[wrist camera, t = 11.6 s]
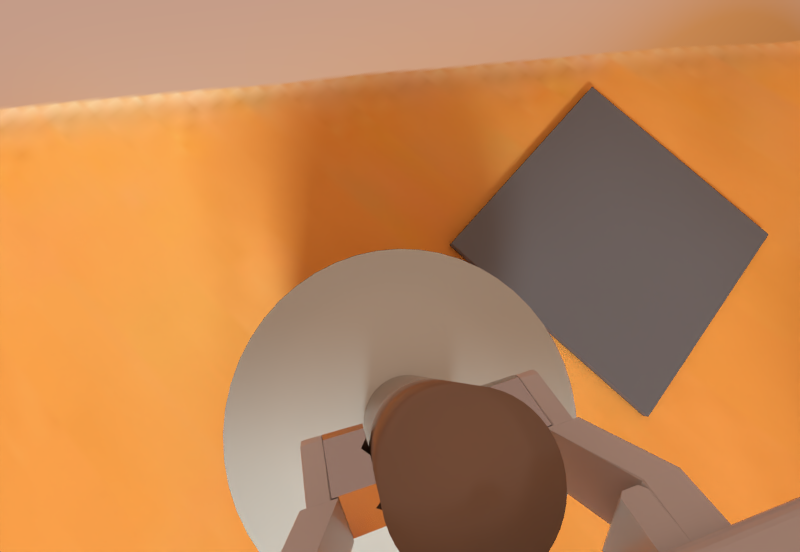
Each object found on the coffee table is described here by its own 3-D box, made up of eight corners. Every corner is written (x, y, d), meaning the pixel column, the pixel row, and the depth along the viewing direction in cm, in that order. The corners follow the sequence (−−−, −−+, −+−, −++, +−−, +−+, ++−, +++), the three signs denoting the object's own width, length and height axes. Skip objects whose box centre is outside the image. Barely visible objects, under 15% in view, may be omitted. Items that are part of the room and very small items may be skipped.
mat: (762, 236, 27) (768, 234, 26) (643, 415, 23) (648, 416, 23) (588, 90, 27) (591, 86, 27) (449, 245, 24) (451, 243, 24)
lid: (622, 400, 17) (931, 440, 8) (419, 692, 14) (541, 1260, 5) (391, 195, 17) (435, 18, 8) (154, 435, 14) (-148, 543, 6)
